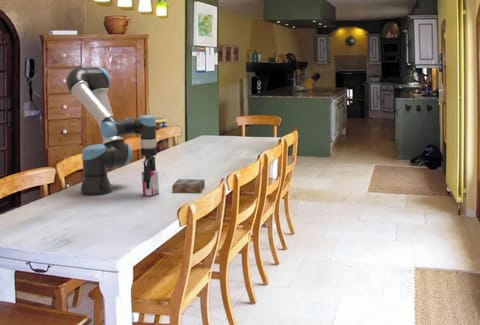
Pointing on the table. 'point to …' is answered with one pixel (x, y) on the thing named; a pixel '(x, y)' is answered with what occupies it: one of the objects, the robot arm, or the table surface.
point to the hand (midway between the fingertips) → (150, 193)
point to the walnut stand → (188, 186)
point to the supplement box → (153, 183)
